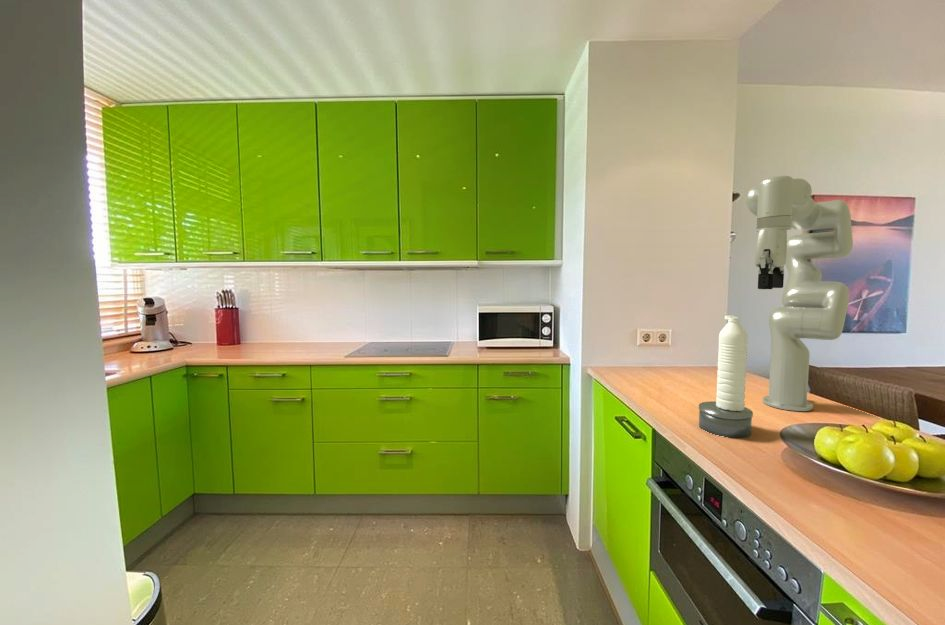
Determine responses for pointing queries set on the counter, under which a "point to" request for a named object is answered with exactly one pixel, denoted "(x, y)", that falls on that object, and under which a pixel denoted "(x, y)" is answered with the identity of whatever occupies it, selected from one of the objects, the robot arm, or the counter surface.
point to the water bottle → (731, 366)
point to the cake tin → (725, 421)
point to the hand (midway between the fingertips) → (770, 288)
